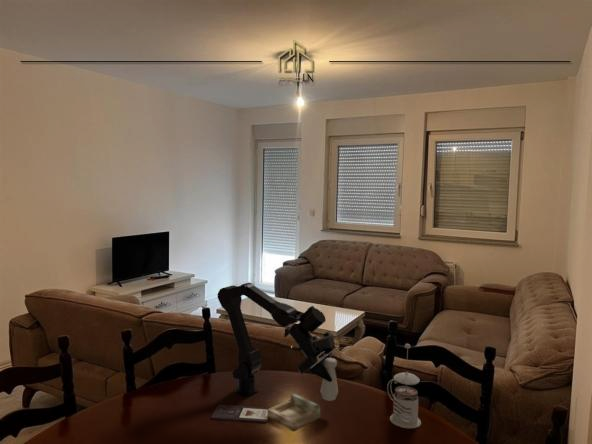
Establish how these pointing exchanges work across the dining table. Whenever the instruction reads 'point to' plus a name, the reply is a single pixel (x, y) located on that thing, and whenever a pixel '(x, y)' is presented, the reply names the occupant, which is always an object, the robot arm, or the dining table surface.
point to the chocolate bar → (241, 413)
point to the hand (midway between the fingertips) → (333, 379)
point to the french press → (410, 413)
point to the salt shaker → (329, 388)
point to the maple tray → (295, 412)
